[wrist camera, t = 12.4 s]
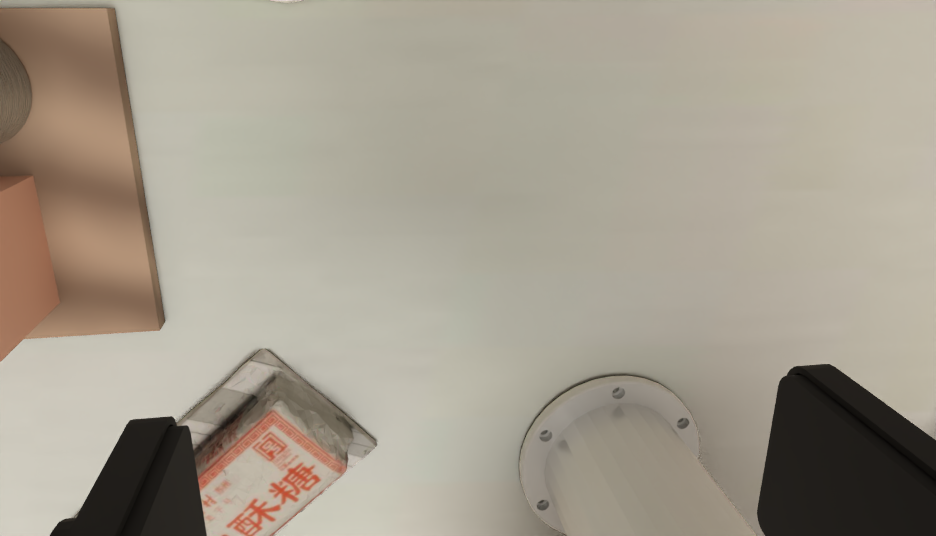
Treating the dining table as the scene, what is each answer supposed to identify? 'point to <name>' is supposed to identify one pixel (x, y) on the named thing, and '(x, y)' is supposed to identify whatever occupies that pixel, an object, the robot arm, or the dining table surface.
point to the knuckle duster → (286, 1)
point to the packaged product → (268, 448)
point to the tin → (12, 94)
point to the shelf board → (84, 171)
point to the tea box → (23, 263)
